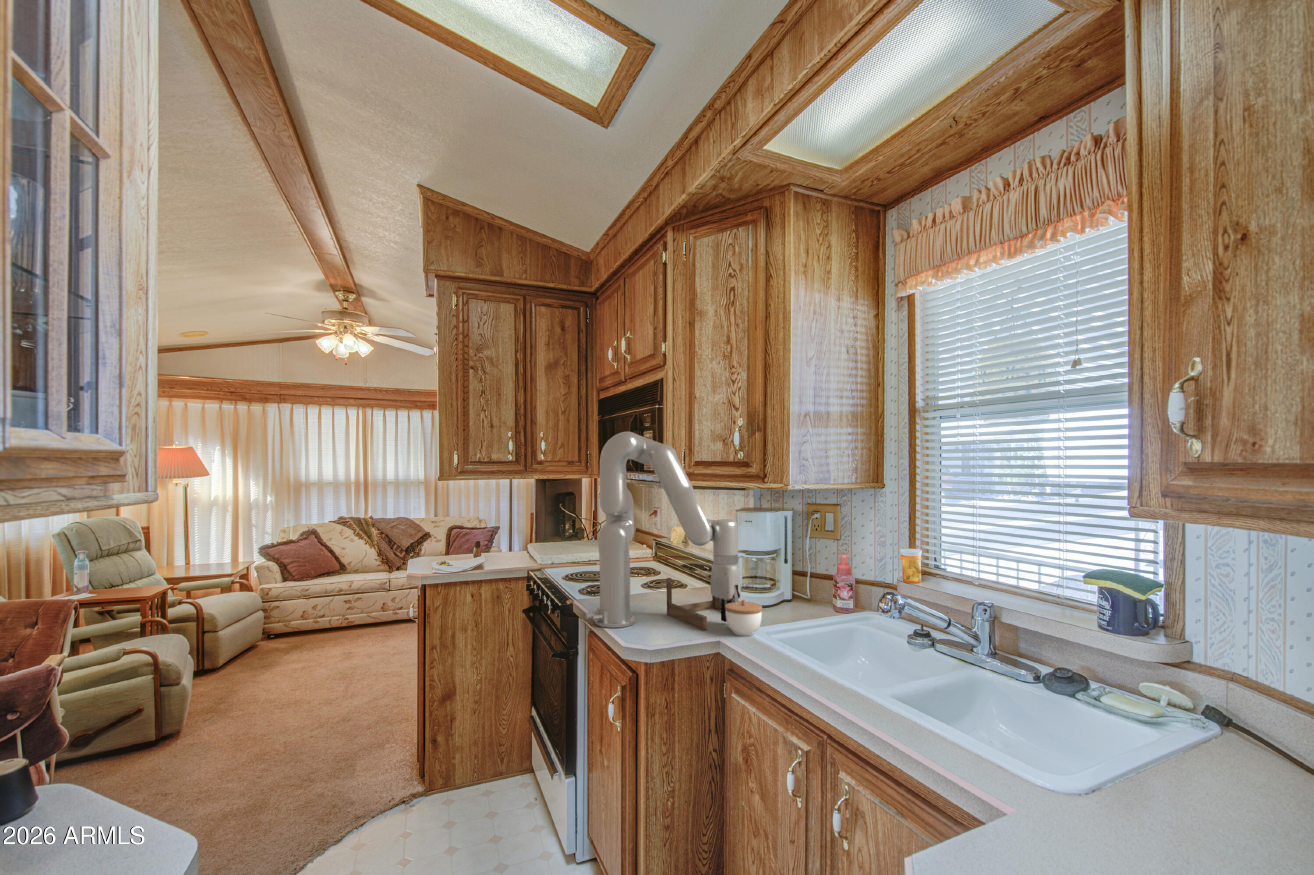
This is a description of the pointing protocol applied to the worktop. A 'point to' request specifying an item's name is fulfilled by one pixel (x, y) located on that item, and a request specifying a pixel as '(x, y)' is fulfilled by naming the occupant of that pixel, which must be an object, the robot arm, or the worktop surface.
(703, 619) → the wooden dowel stand
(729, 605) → the lidded jar
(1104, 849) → the worktop surface
